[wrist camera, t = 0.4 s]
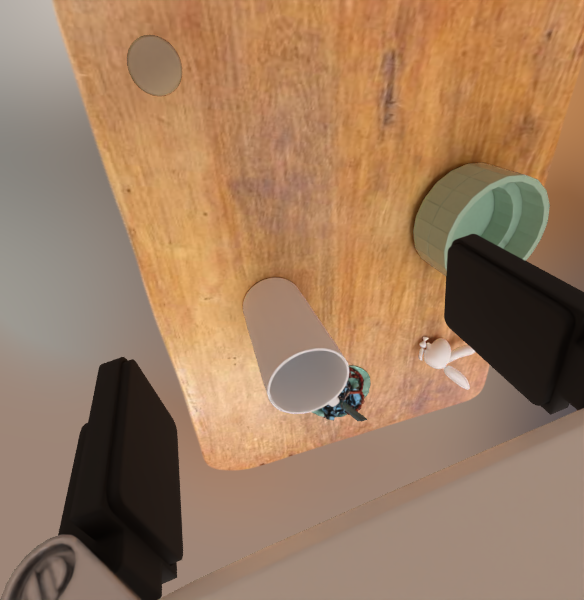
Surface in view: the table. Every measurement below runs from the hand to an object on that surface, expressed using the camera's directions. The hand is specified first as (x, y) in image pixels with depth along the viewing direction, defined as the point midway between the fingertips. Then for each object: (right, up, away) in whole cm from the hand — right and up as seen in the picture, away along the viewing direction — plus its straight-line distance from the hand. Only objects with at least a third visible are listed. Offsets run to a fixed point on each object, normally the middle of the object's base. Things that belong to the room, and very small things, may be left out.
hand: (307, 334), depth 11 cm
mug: (-2, 0, +29) cm, 29 cm away
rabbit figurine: (+19, -5, +39) cm, 44 cm away
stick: (-10, +17, +15) cm, 25 cm away
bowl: (+17, +10, +29) cm, 35 cm away
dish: (+6, -11, +38) cm, 40 cm away
